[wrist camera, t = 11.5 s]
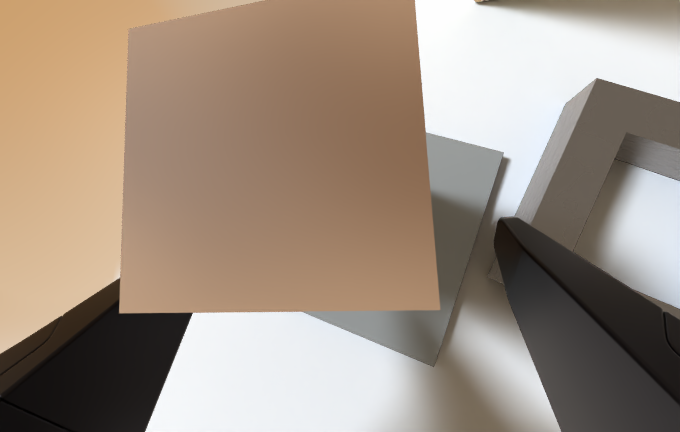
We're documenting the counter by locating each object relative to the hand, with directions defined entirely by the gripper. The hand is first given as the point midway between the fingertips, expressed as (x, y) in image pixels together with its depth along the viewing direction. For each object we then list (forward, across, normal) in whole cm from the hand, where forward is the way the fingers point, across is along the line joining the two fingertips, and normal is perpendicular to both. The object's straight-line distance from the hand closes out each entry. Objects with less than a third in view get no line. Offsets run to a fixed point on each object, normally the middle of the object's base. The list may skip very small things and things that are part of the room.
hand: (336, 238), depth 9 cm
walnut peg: (+6, 0, +5) cm, 8 cm away
